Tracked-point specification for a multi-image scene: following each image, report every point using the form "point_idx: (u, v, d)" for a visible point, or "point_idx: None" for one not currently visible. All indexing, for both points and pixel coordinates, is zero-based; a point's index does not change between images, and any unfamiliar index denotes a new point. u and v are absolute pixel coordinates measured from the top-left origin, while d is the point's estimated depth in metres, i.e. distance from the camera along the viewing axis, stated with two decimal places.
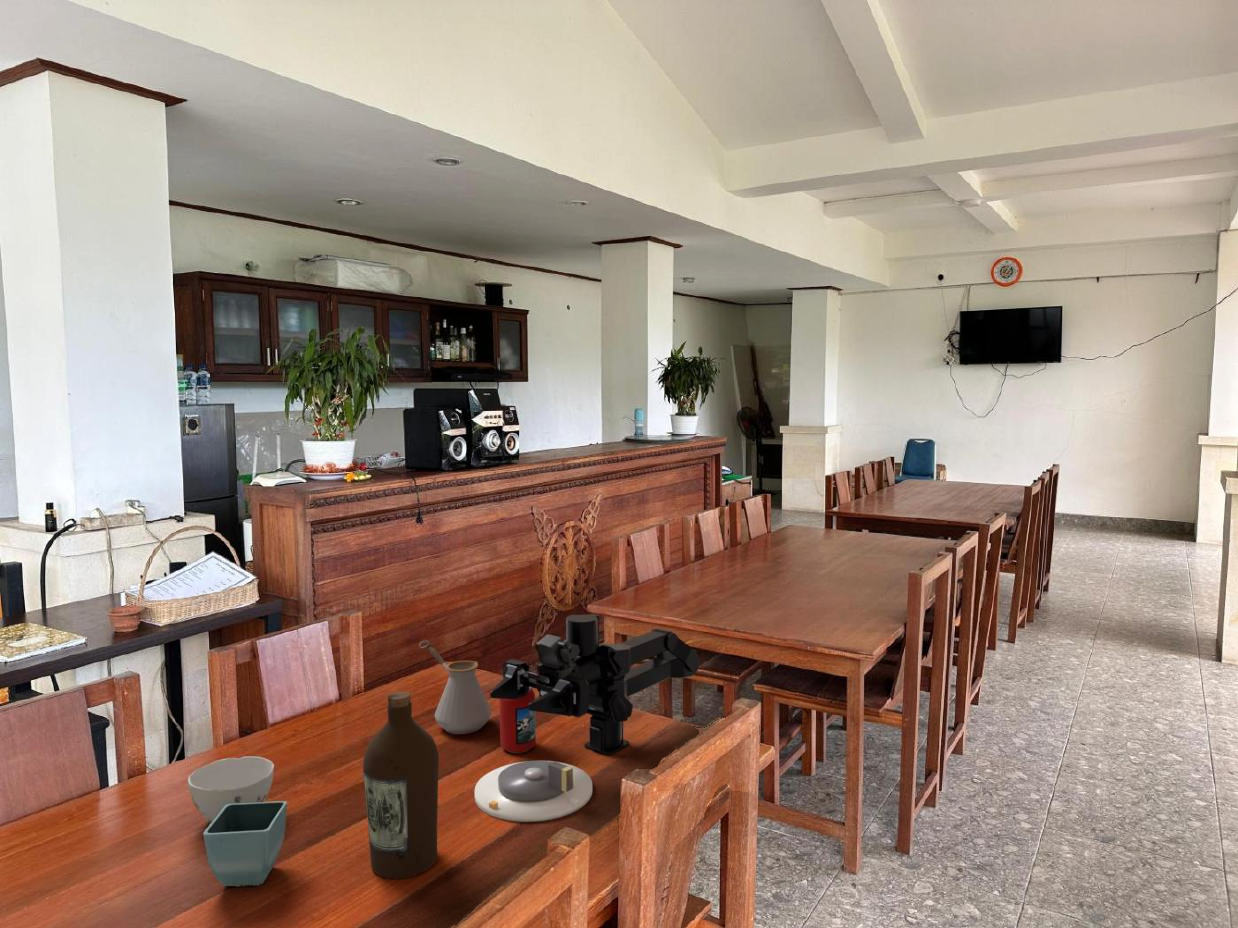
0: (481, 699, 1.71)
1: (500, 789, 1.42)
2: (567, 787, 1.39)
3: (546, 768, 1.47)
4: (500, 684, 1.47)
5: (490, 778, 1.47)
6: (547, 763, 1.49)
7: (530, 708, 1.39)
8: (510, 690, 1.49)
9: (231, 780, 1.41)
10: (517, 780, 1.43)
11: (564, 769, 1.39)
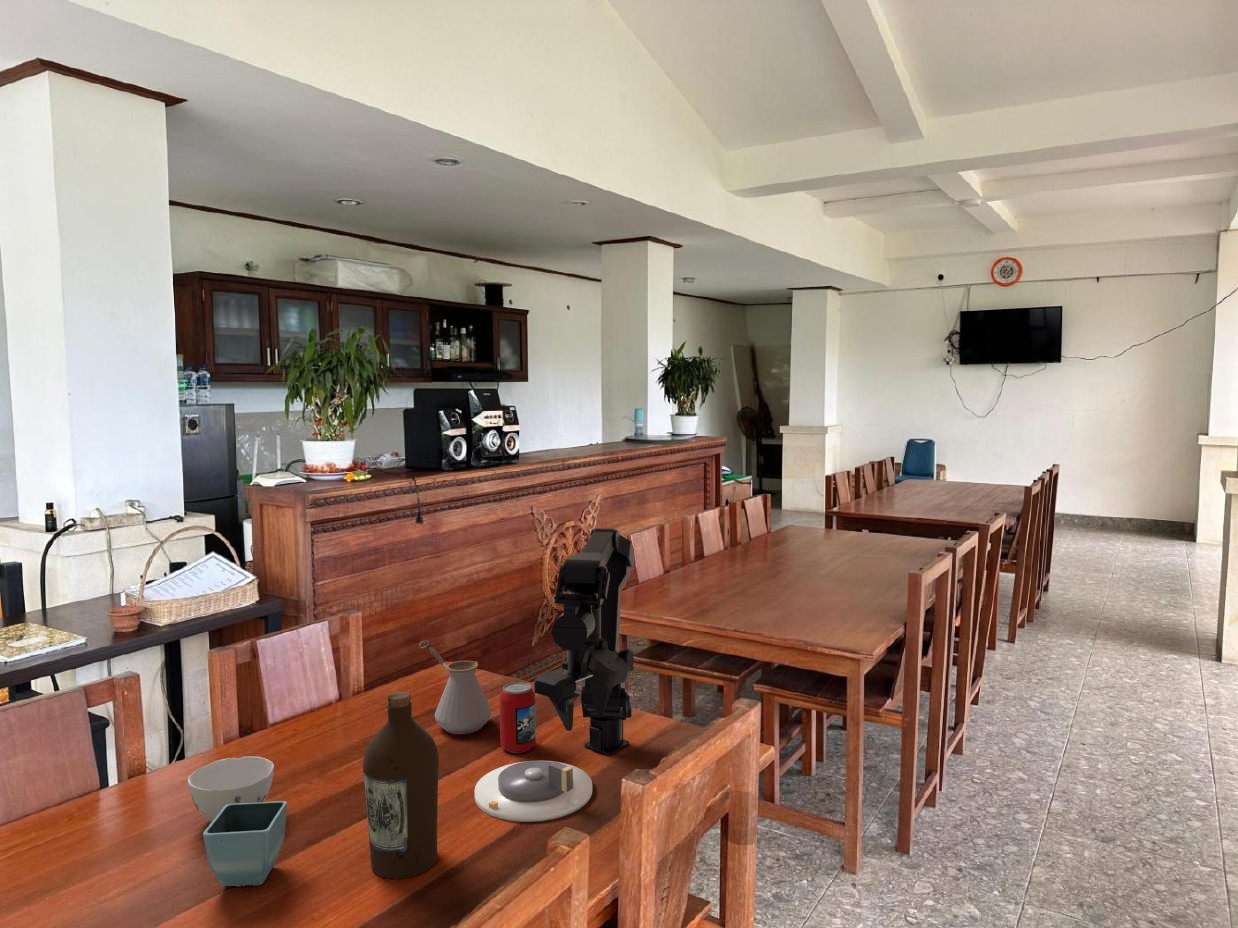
0: (481, 699, 1.71)
1: (500, 789, 1.42)
2: (567, 787, 1.39)
3: (546, 768, 1.47)
4: (571, 716, 1.39)
5: (490, 778, 1.47)
6: (547, 763, 1.49)
7: None
8: None
9: (231, 780, 1.41)
10: (517, 780, 1.43)
11: (564, 769, 1.39)
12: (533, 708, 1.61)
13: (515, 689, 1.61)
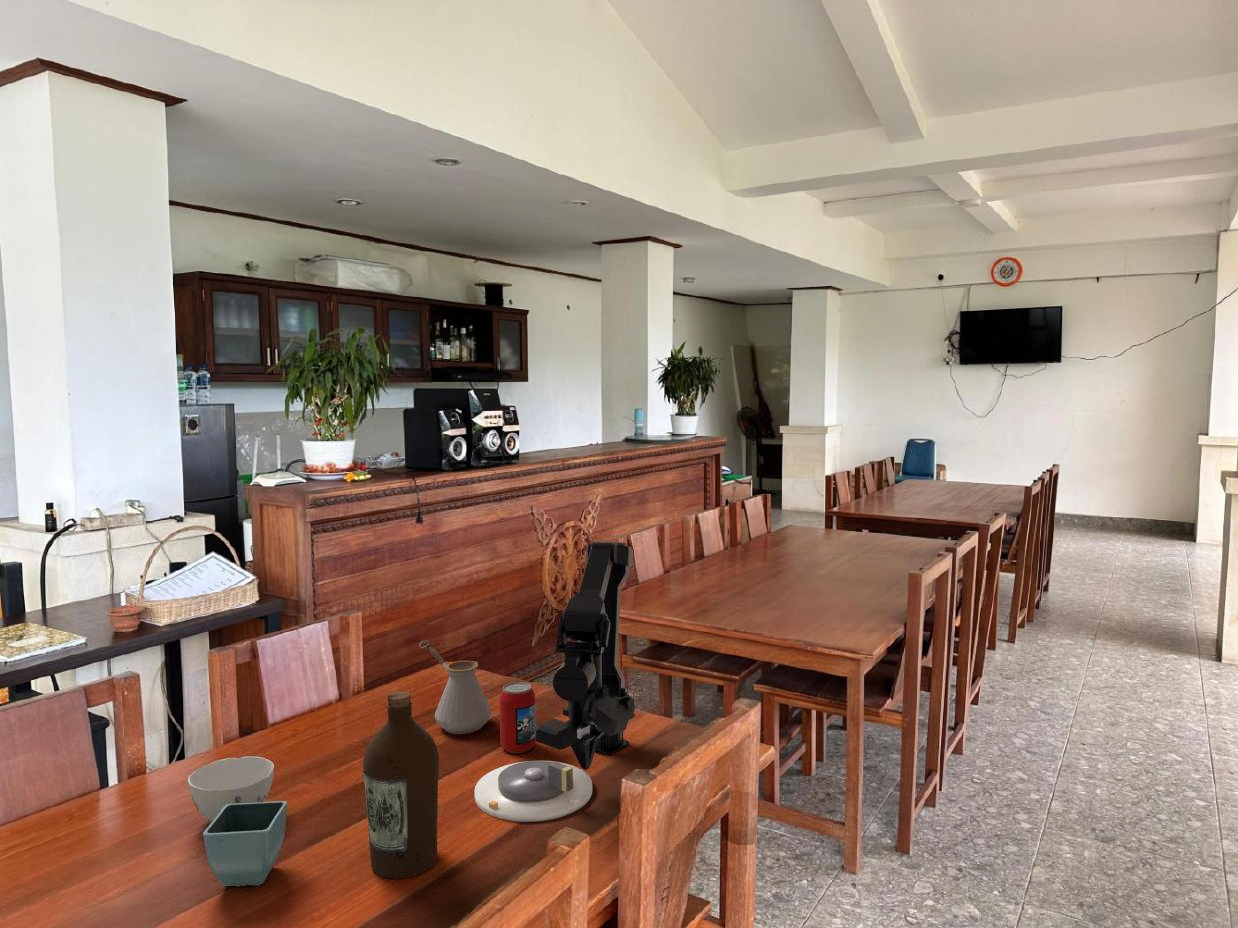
0: (481, 699, 1.71)
1: (500, 789, 1.42)
2: (567, 787, 1.39)
3: (546, 768, 1.47)
4: (587, 756, 1.43)
5: (490, 778, 1.47)
6: (547, 763, 1.49)
7: None
8: None
9: (231, 780, 1.41)
10: (517, 780, 1.43)
11: (564, 769, 1.39)
12: (533, 708, 1.61)
13: (515, 689, 1.61)
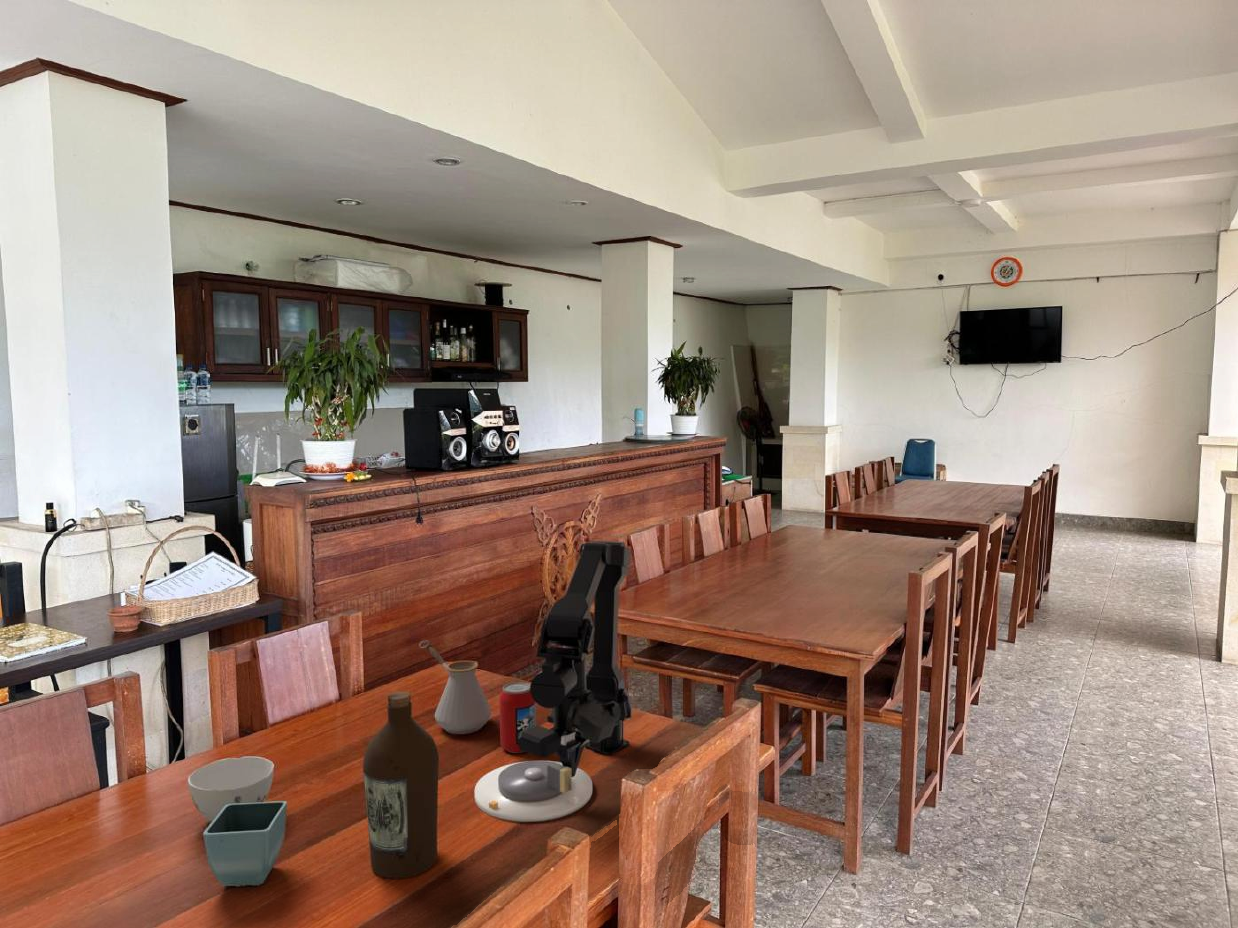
0: (481, 699, 1.71)
1: (499, 788, 1.42)
2: (565, 788, 1.38)
3: (547, 768, 1.47)
4: (573, 763, 1.40)
5: (490, 778, 1.47)
6: (548, 763, 1.49)
7: None
8: None
9: (231, 780, 1.41)
10: (517, 780, 1.43)
11: (562, 770, 1.38)
12: (533, 708, 1.61)
13: (515, 689, 1.61)
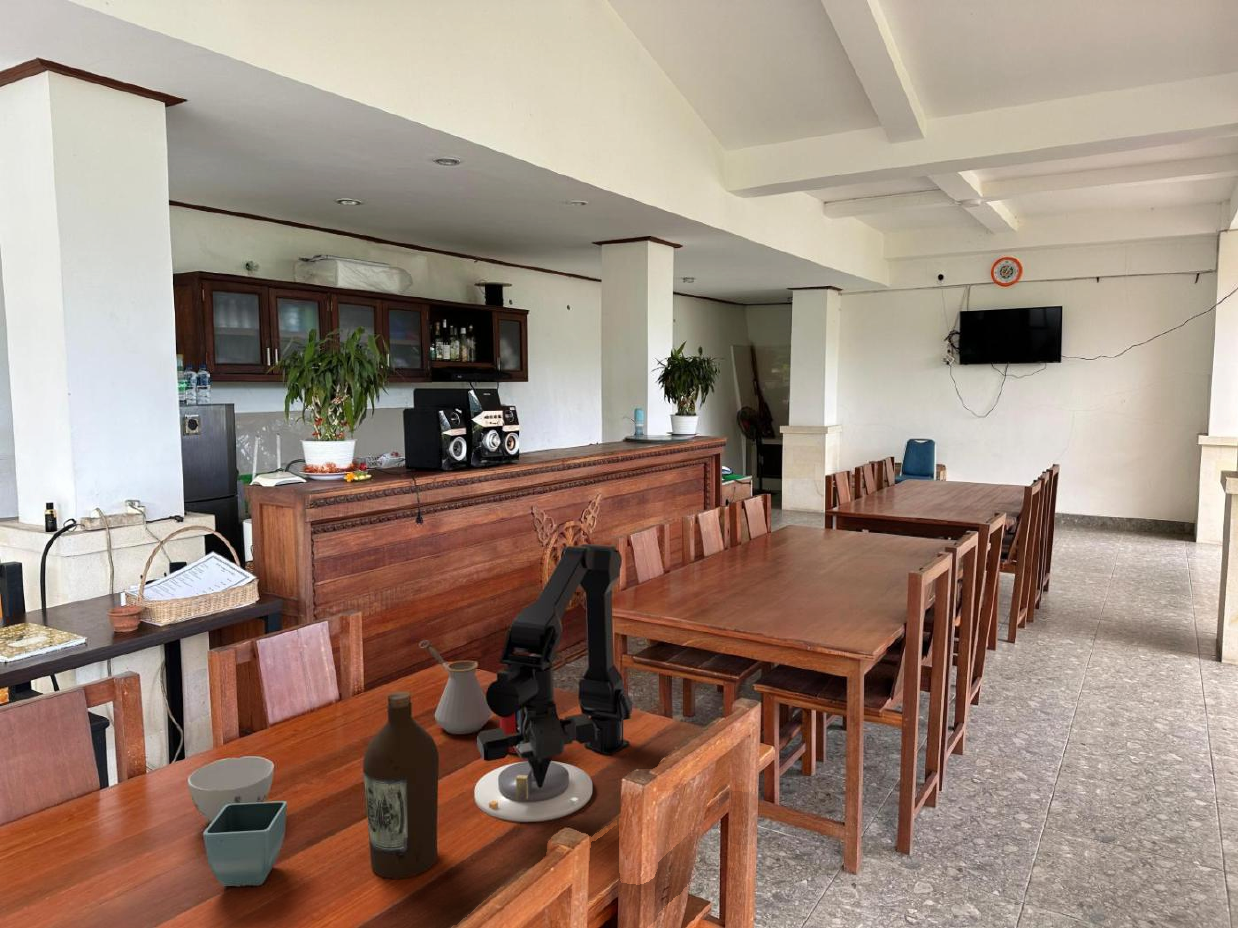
0: (481, 699, 1.71)
1: None
2: (518, 795, 1.36)
3: (553, 776, 1.44)
4: (538, 774, 1.36)
5: (490, 778, 1.47)
6: (564, 773, 1.45)
7: None
8: None
9: (231, 780, 1.41)
10: (518, 772, 1.46)
11: (518, 776, 1.36)
12: None
13: None
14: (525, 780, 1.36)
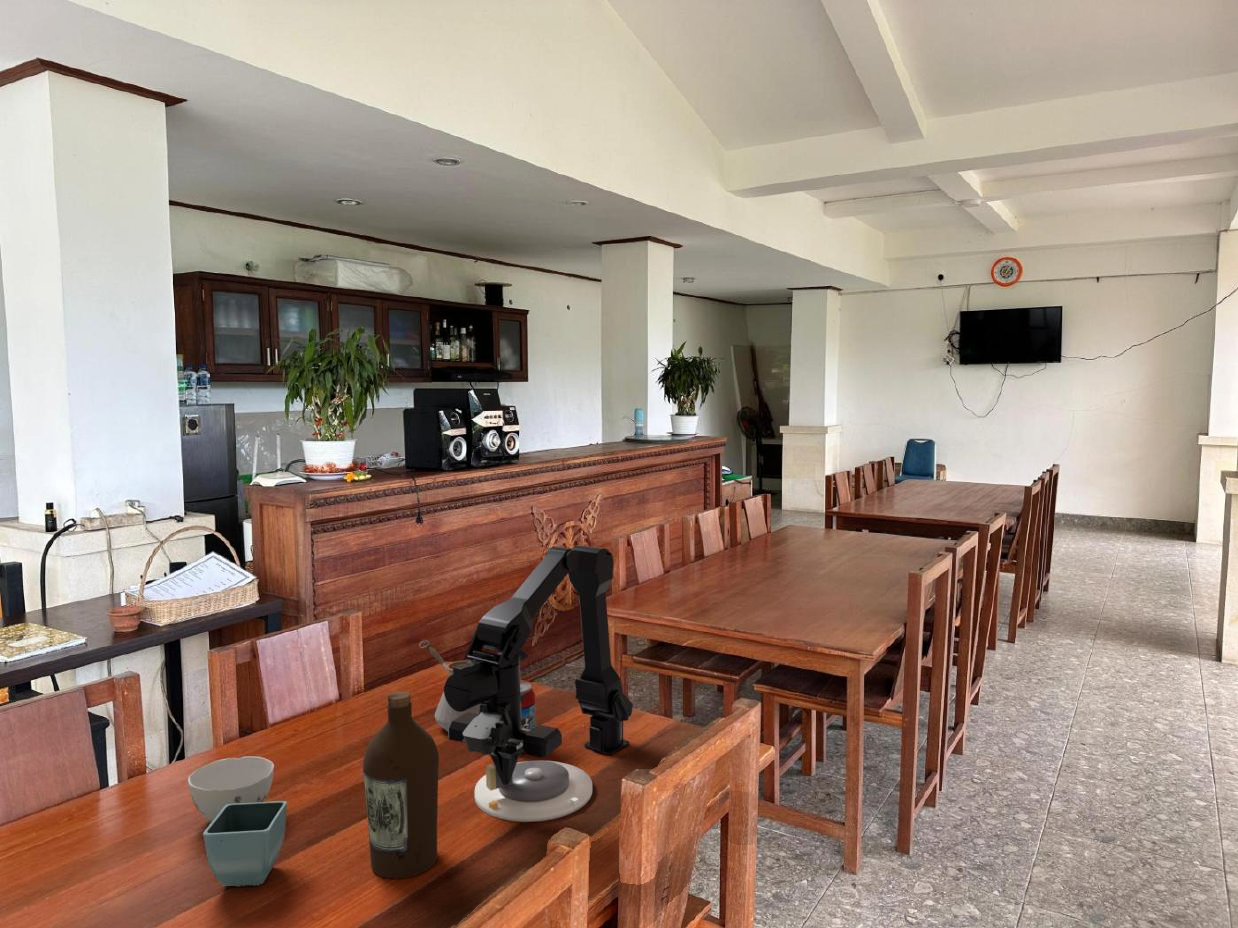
0: None
1: None
2: (487, 783, 1.40)
3: (543, 783, 1.42)
4: (499, 770, 1.38)
5: None
6: (555, 785, 1.41)
7: (507, 783, 1.39)
8: None
9: (231, 780, 1.41)
10: (531, 768, 1.47)
11: (489, 765, 1.40)
12: (533, 708, 1.61)
13: None
14: (489, 771, 1.39)
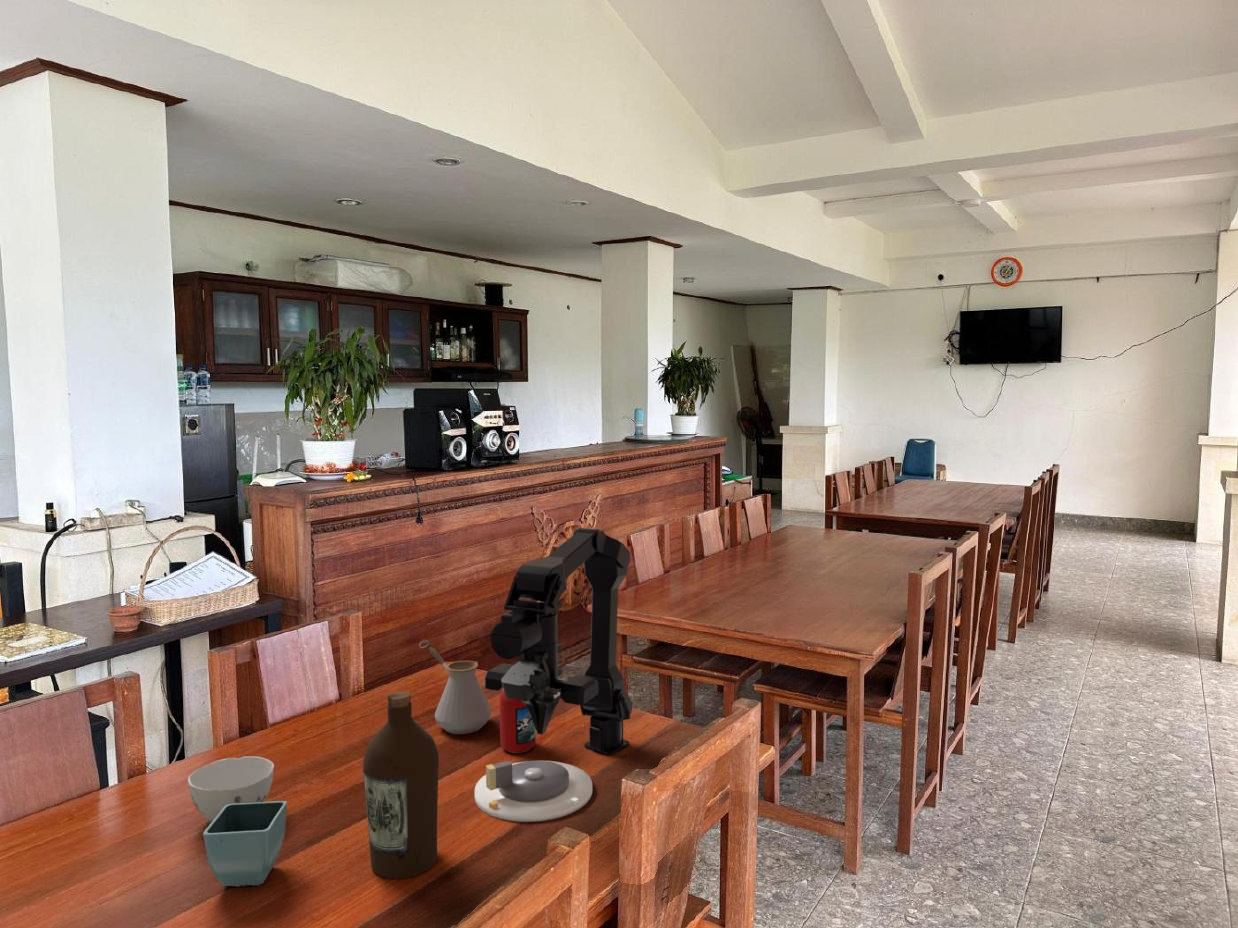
0: (481, 699, 1.71)
1: None
2: (487, 783, 1.40)
3: (543, 783, 1.42)
4: (535, 719, 1.39)
5: None
6: (555, 785, 1.41)
7: (544, 732, 1.39)
8: None
9: (231, 780, 1.41)
10: (531, 768, 1.47)
11: (489, 765, 1.40)
12: None
13: None
14: (489, 771, 1.39)
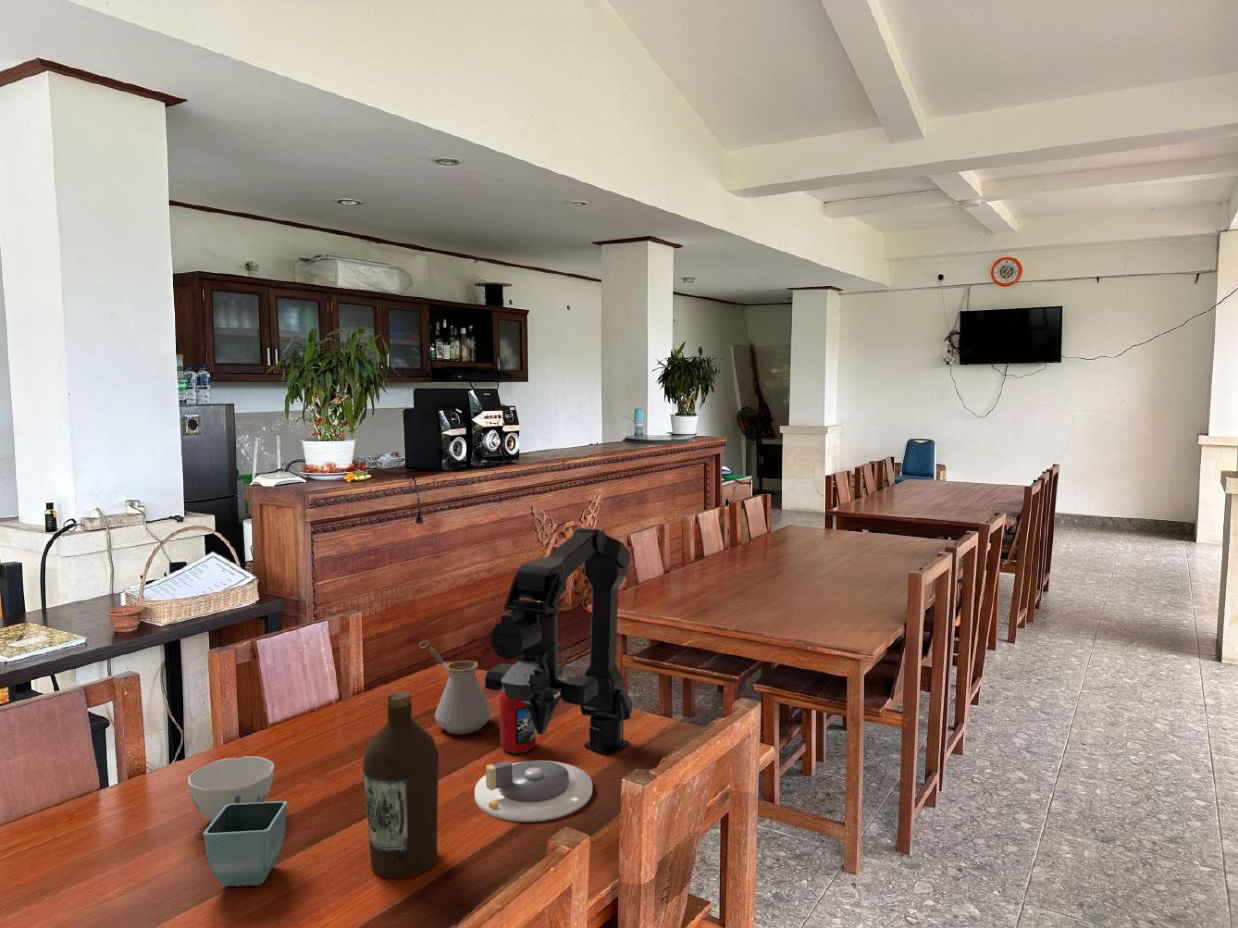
0: (481, 699, 1.71)
1: None
2: (487, 783, 1.40)
3: (543, 783, 1.42)
4: (535, 719, 1.39)
5: None
6: (555, 785, 1.41)
7: (544, 732, 1.39)
8: None
9: (231, 780, 1.41)
10: (531, 768, 1.47)
11: (489, 765, 1.40)
12: None
13: None
14: (489, 771, 1.39)
